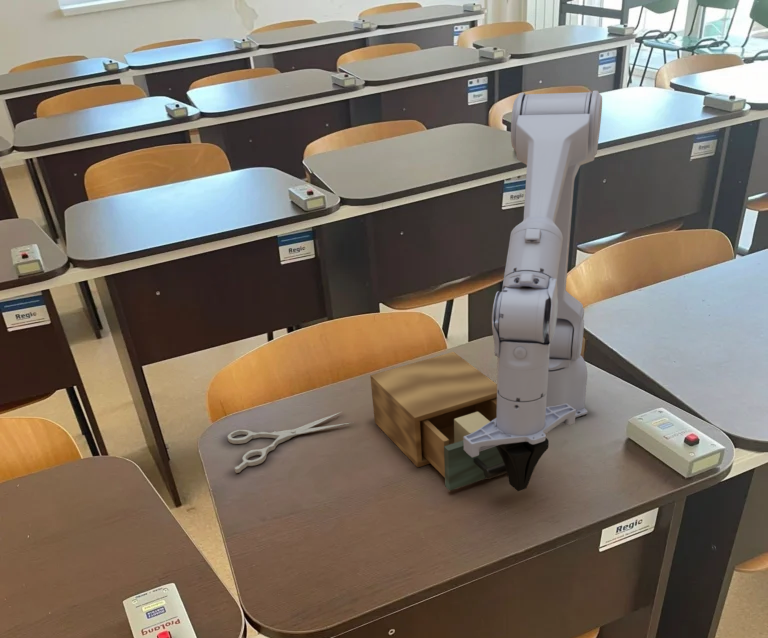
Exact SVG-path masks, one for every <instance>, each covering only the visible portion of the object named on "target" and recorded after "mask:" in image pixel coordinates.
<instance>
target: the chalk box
mask: <svg viewBox="0 0 768 638" xmlns="http://www.w3.org/2000/svg"><path fill="white" fill-rule="evenodd" d="M489 422H490V421H489V420H488V419H486V418H485V417H484V416H483V415H482V414H480V413H479V412H474V413H471V414H468V415H465V416H462V417H458V418H455V419H454V443H456V442H459V441H462V440H464V438H463V437H464V436H466V435H469V434H471V433H473V432H475V431H477V430H478V429H480V428H481V427H483V426H484V425H486V424H488V423H489Z"/></svg>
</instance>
